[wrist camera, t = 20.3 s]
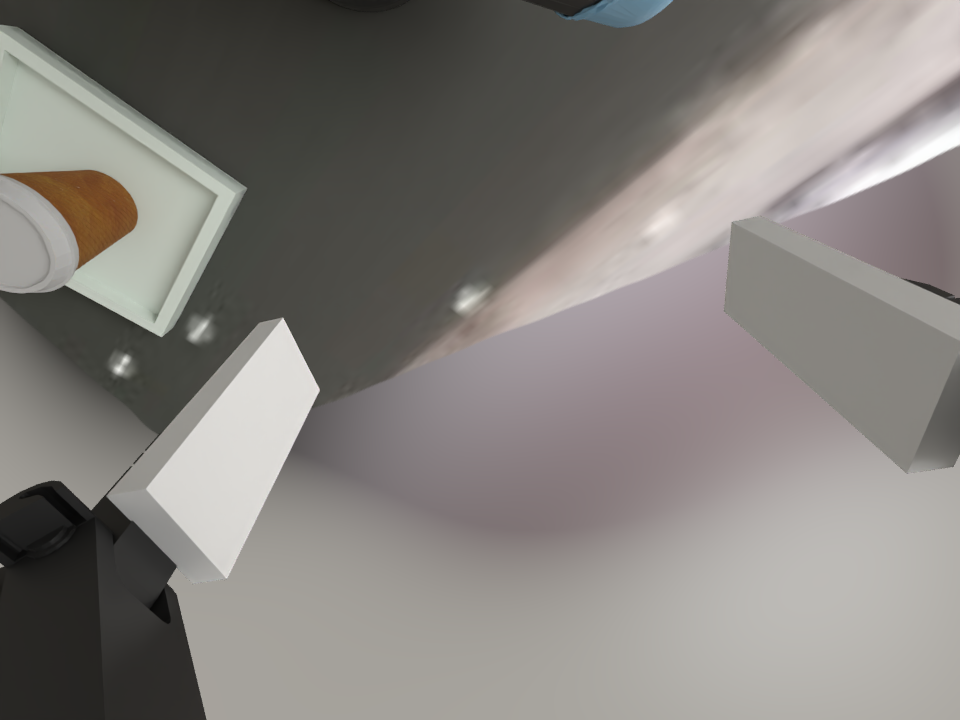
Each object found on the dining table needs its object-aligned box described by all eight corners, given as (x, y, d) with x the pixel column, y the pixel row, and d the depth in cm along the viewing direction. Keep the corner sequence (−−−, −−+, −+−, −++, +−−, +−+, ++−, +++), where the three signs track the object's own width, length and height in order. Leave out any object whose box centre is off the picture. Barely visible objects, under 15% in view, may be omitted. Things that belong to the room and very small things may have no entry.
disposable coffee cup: (174, 207, 44) (84, 244, 33) (128, 269, 47) (34, 320, 37) (73, 126, 40) (-63, 141, 29) (31, 200, 43) (-104, 236, 33)
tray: (-26, 216, 45) (-51, 222, 42) (18, 27, 37) (-10, 23, 34) (174, 326, 52) (161, 337, 49) (247, 188, 44) (235, 193, 42)
